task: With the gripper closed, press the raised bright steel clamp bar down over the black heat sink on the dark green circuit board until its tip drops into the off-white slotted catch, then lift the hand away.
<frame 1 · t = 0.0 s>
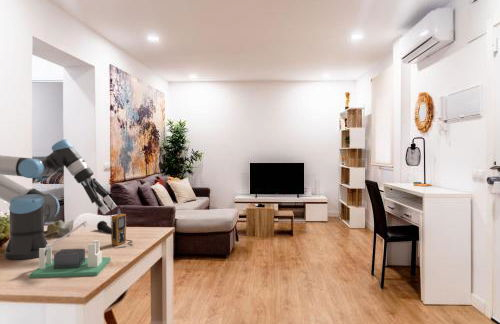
hand: (110, 210, 167), 15 cm above the table, fingers open, 13 cm apart
clamp bar: (64, 237, 132), point 11 cm above the table, hinge at 35.0°
heat sink: (70, 268, 132), resting on circuit board
circuit board: (73, 268, 132), on the table
microphone: (106, 233, 194), on the table
ceramic sculpture: (57, 237, 184), on the table
multimeter: (126, 245, 168), on the table
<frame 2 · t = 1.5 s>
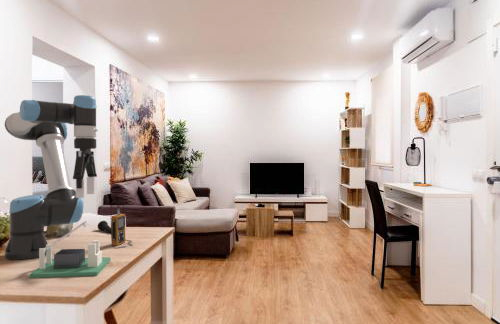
hand: (85, 195, 139), 25 cm above the table, fingers open, 13 cm apart
nothing on the table moved.
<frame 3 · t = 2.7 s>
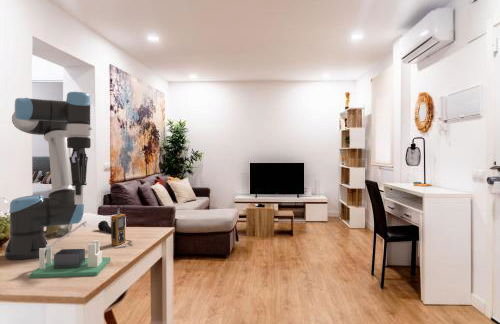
hand: (79, 204, 132), 23 cm above the table, fingers closed
nothing on the table moved.
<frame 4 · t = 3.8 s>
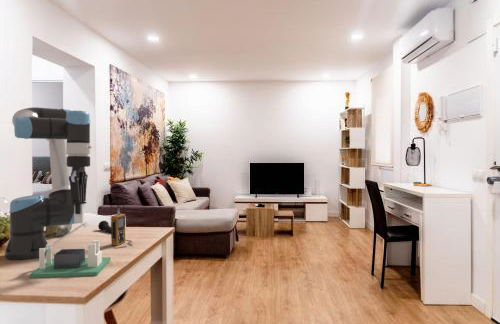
hand: (79, 222, 132), 16 cm above the table, fingers closed
clamp bar: (65, 237, 132), point 11 cm above the table, hinge at 34.3°, touching gripper
everything else where it was.
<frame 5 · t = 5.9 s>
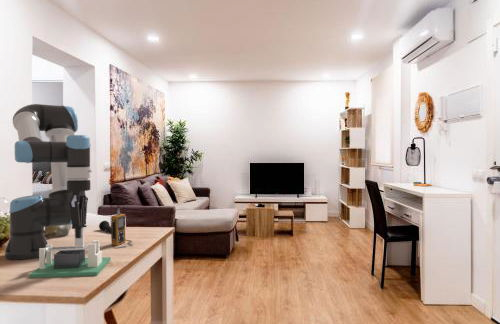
hand: (79, 246, 132), 8 cm above the table, fingers closed
clamp bar: (68, 249, 132), point 7 cm above the table, hinge at 1.5°, touching gripper
everything else where it was.
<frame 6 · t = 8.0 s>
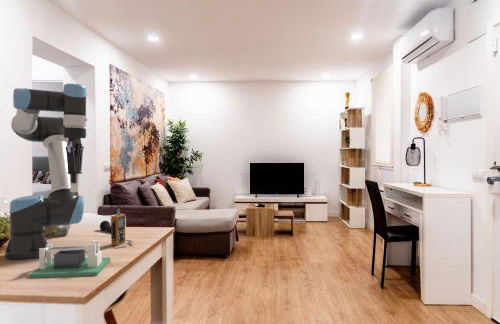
hand: (74, 191, 138), 26 cm above the table, fingers closed
clamp bar: (68, 249, 132), point 7 cm above the table, hinge at 1.5°
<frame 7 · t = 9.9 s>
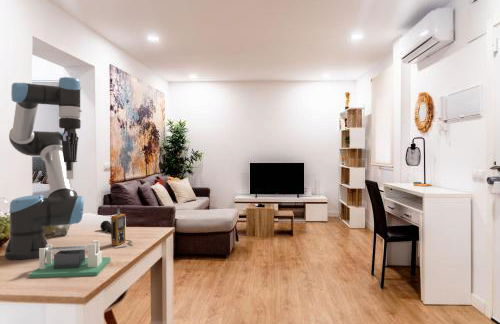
hand: (70, 178, 147), 30 cm above the table, fingers closed
at the end: clamp bar at +2° (first picture: +35°) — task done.
